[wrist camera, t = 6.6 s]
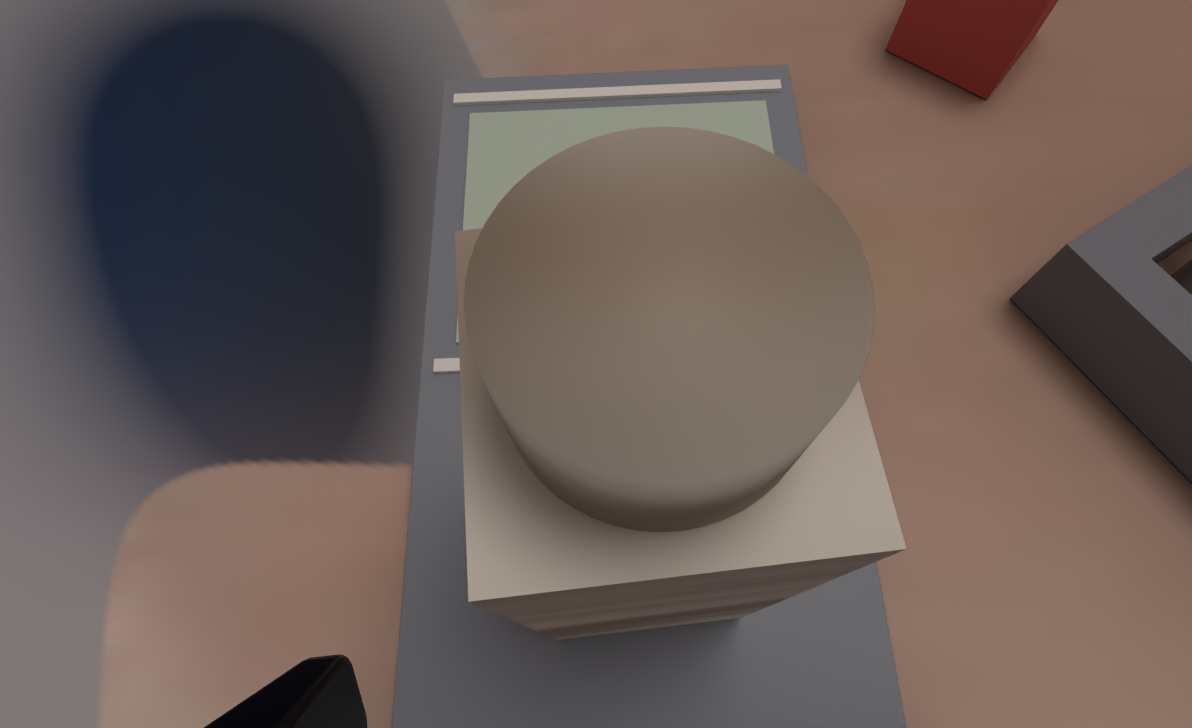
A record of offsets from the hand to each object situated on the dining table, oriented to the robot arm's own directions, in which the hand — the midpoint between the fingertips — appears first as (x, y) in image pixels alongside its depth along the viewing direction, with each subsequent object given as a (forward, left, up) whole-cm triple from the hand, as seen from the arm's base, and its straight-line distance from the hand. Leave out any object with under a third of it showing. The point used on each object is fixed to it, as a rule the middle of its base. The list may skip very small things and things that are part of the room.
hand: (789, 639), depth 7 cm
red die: (+20, +12, -12) cm, 26 cm away
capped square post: (0, +3, -11) cm, 11 cm away
